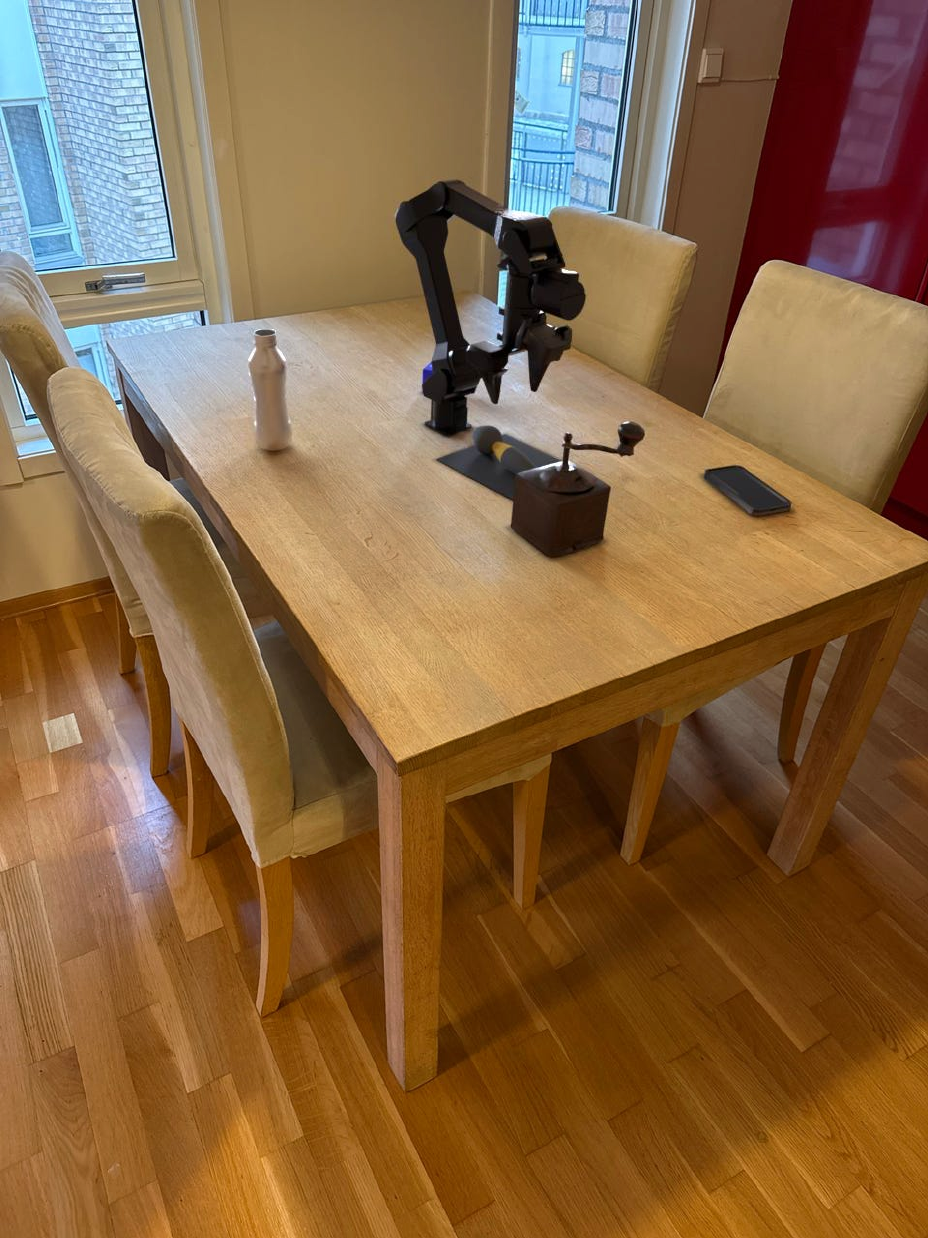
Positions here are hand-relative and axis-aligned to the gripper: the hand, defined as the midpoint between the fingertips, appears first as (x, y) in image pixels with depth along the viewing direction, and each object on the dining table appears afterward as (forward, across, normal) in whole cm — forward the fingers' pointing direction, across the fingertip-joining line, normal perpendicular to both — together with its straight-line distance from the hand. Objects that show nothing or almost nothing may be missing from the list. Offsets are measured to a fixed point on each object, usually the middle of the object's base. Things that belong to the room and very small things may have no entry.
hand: (514, 397), depth 151 cm
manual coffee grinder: (+11, -10, -24) cm, 29 cm away
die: (+11, +10, +30) cm, 34 cm away
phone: (+11, +23, -34) cm, 42 cm away
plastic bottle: (+11, -30, +28) cm, 43 cm away
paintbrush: (+11, -2, -2) cm, 12 cm away
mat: (+11, -2, -3) cm, 12 cm away
